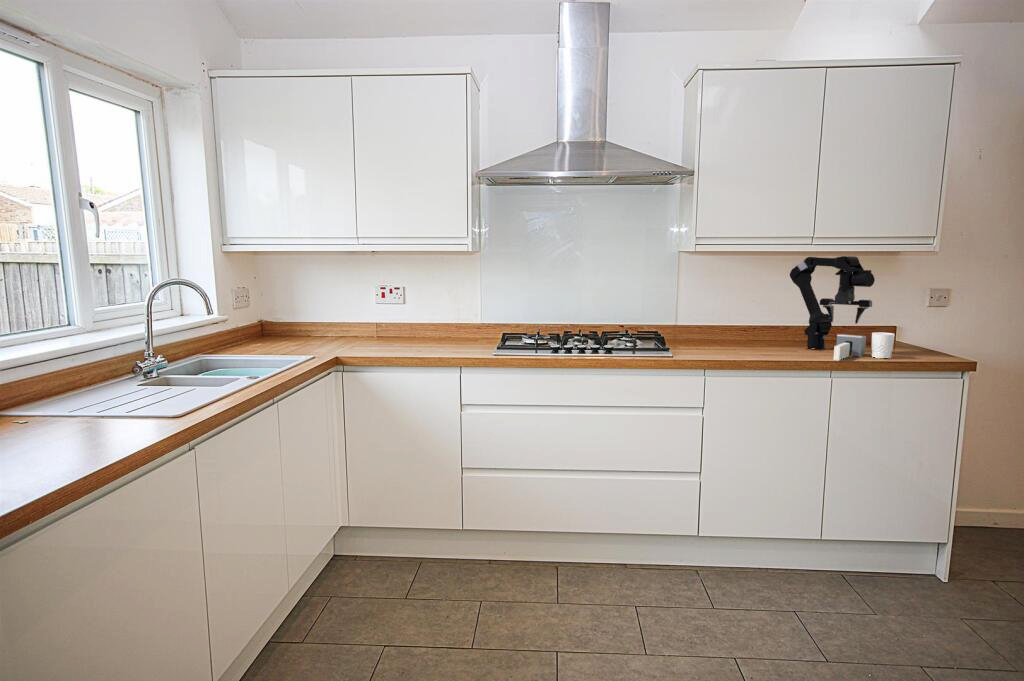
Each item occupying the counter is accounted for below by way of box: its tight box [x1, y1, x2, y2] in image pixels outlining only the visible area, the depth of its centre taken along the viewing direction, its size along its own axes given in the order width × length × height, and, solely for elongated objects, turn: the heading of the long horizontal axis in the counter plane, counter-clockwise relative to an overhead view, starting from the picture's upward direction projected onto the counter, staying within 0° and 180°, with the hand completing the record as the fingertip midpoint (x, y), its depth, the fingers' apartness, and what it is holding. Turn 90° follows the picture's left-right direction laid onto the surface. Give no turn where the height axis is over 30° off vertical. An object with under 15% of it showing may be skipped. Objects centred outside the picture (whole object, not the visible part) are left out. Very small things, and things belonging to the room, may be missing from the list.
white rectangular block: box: [832, 343, 850, 362], centre depth 233 cm, size 15×2×6 cm, turn 137°
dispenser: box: [836, 333, 867, 358], centre depth 243 cm, size 8×9×9 cm
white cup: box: [870, 331, 896, 359], centre depth 236 cm, size 8×8×10 cm
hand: (843, 322), depth 247 cm, fingers open, 9 cm apart
